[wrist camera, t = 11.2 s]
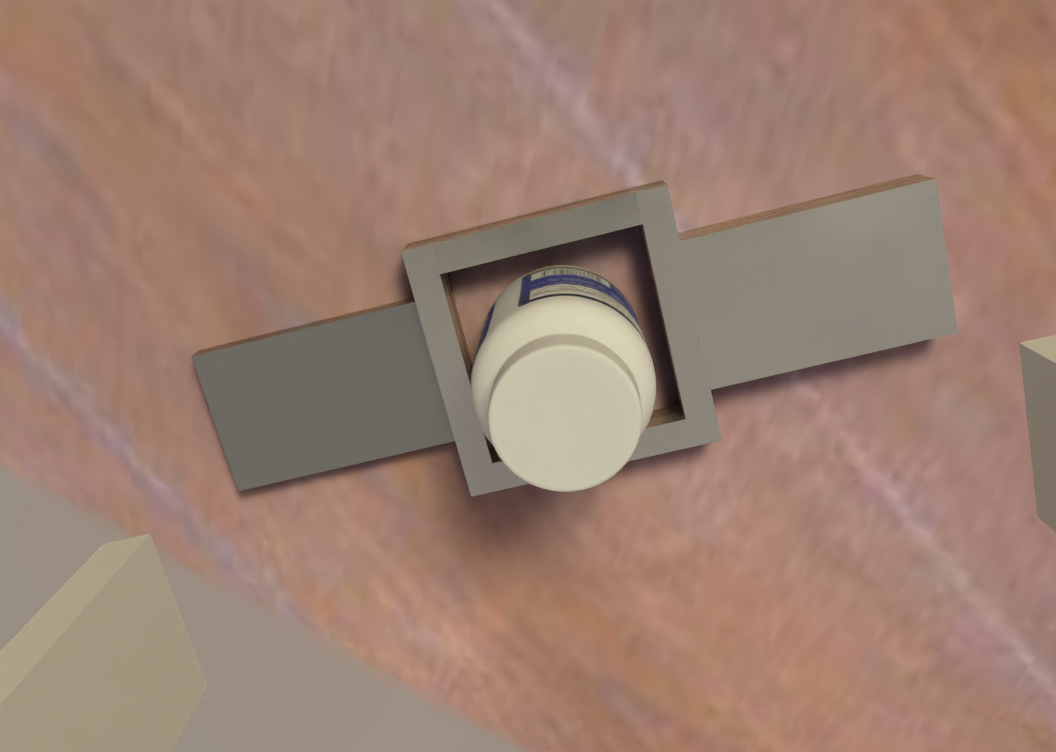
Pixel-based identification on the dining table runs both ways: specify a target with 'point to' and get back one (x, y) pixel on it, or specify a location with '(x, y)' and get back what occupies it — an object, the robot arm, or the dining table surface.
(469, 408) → the square frame bracket
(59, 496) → the dining table surface
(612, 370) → the pill bottle
